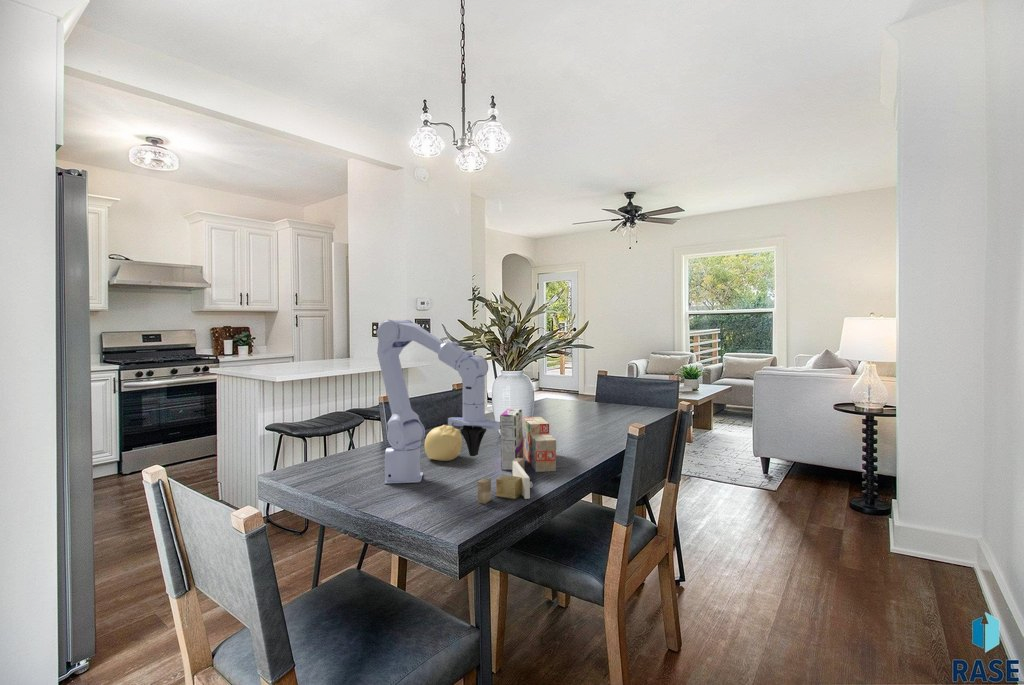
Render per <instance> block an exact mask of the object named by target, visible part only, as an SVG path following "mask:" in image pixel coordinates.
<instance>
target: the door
mask: <svg viewBox="0 0 1024 685" xmlns="http://www.w3.org/2000/svg"><path fill="white" fill-rule="evenodd" d="M513 476H516V477H522V495H521V496H522V497H523V498H524V500H527V499H528V500H529V499H531V492H530V491H531V490H530V488H531V489H532V488H533V485H534V484H533V481H530V480H531V478H530V476H529V475H528V474H527V473H526V471H525V469H524V470H523V469H522V467H521V466H520V465H519V463H518V462H517V461H513Z"/></svg>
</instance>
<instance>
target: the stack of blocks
mask: <svg viewBox="0 0 1024 685" xmlns="http://www.w3.org/2000/svg"><path fill="white" fill-rule="evenodd" d="M522 426H523V456H524V457H525V459H526V460H527V462H528V463H529V464H530V465H531V467H532V469H533V470H534V472H535V473H542V472H556V470H557V462H556V461H557V439H556V438H555V437H554V436H553V435H552V434H551V433H550V423H549V422H548V421H546V420H545V419H544V417H542V416H529V417H526V416H525V417H522Z"/></svg>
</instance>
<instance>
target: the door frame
mask: <svg viewBox="0 0 1024 685" xmlns="http://www.w3.org/2000/svg"><path fill="white" fill-rule="evenodd" d="M513 461H517V462H518V463H519V465H520V466H521V467H522V469H523V470H524V471H525V458H524V457H523V458H516V459H515V460H513ZM513 461H512V470H511V476H513ZM491 500H492V479H491V478H481V479H479V480H478V481H477V503H479V504H484V505H485V504H487V503H488V502H490V501H491Z"/></svg>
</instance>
